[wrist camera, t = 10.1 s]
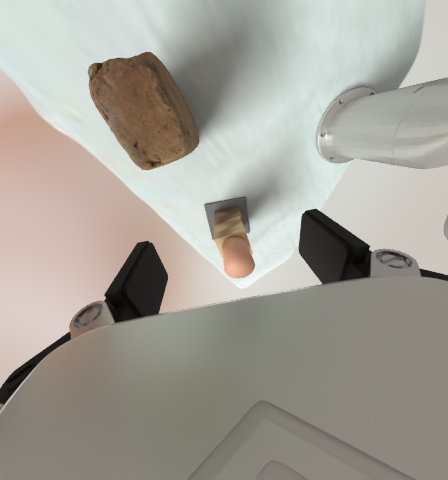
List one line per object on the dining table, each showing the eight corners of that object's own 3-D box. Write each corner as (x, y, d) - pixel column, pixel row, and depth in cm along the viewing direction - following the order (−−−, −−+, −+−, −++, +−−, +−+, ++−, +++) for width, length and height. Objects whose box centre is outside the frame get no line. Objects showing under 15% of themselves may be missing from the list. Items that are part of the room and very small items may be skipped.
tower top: (239, 215, 36) (244, 229, 31) (246, 237, 39) (252, 253, 34) (213, 225, 36) (214, 239, 31) (222, 246, 40) (224, 262, 35)
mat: (245, 196, 40) (245, 197, 40) (248, 232, 46) (249, 232, 45) (204, 204, 40) (204, 205, 40) (212, 239, 46) (212, 239, 46)
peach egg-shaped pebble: (246, 233, 31) (253, 252, 26) (248, 254, 34) (255, 275, 29) (219, 238, 31) (222, 258, 26) (224, 258, 34) (227, 280, 29)
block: (203, 144, 34) (199, 155, 17) (170, 159, 35) (135, 183, 18) (176, 74, 28) (129, -14, 11) (137, 94, 29) (40, 41, 12)
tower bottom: (238, 206, 41) (242, 217, 36) (240, 228, 44) (245, 240, 39) (214, 211, 41) (214, 222, 36) (218, 232, 44) (219, 244, 39)
